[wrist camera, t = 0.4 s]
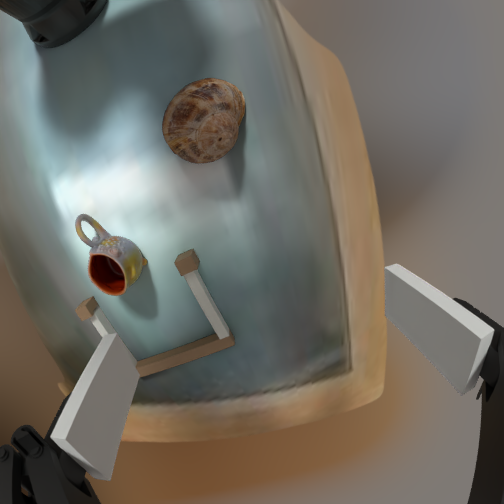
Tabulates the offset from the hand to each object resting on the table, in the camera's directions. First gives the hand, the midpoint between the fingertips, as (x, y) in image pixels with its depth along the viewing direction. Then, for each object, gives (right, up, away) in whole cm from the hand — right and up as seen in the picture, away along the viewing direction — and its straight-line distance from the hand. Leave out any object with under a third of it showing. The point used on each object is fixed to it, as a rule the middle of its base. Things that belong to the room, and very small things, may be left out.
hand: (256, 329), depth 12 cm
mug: (-20, +5, +24) cm, 32 cm away
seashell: (-6, +20, +21) cm, 30 cm away
